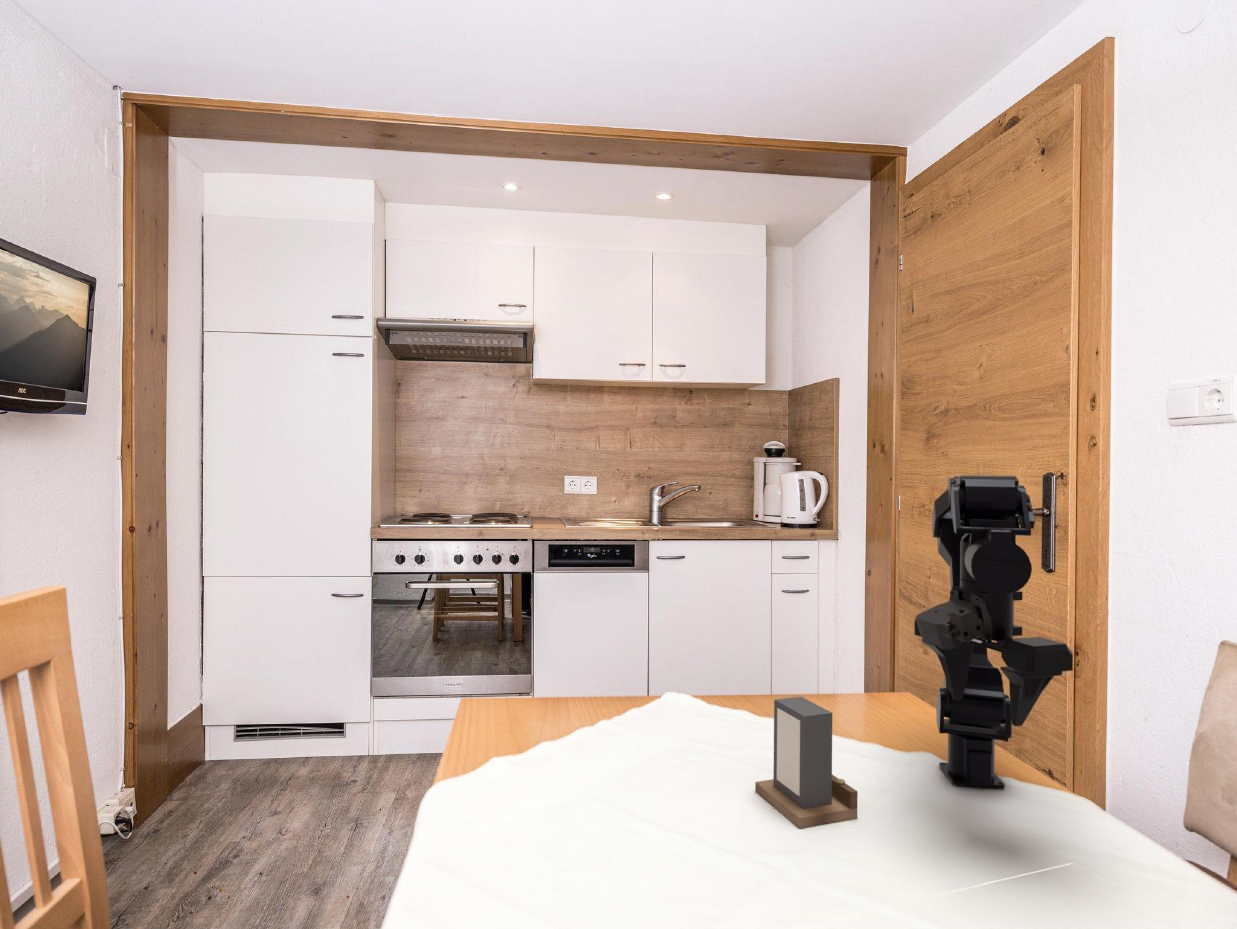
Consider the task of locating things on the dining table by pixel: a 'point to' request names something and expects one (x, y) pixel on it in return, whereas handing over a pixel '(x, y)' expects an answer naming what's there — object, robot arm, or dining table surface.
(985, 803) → the dining table surface
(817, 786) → the grey box
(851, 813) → the drawer
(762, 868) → the dining table surface
